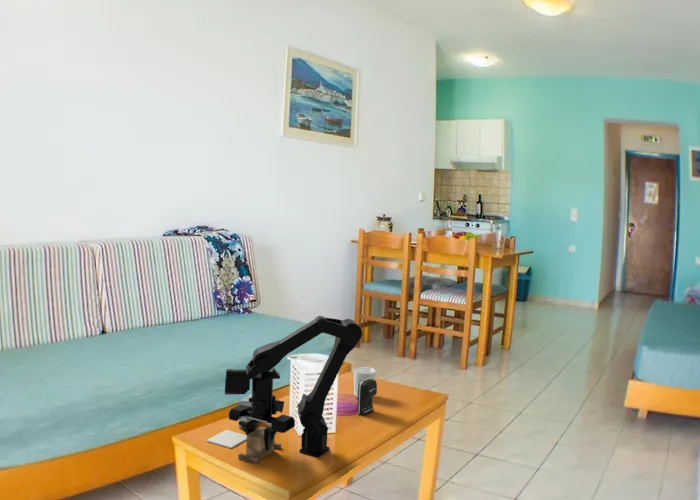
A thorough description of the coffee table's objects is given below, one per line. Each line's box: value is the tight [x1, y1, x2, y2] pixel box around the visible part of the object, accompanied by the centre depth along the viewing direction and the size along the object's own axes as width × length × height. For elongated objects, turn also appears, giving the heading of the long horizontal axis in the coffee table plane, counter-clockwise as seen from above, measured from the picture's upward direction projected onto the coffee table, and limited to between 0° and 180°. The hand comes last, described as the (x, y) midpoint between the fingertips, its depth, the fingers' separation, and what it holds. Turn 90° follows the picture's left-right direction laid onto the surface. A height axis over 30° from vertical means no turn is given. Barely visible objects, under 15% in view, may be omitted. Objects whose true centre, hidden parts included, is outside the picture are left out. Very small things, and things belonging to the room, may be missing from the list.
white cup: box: [353, 366, 376, 396], centre depth 216 cm, size 8×8×10 cm
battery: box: [356, 378, 378, 416], centre depth 200 cm, size 7×4×11 cm, turn 144°
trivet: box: [205, 429, 247, 449], centre depth 174 cm, size 9×9×1 cm
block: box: [245, 426, 276, 460], centre depth 166 cm, size 4×7×6 cm, turn 153°
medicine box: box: [238, 392, 260, 429], centre depth 186 cm, size 8×4×9 cm, turn 168°
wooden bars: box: [238, 441, 282, 465], centre depth 166 cm, size 6×12×1 cm, turn 153°
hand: (260, 447), depth 166 cm, fingers closed on block, 4 cm apart
